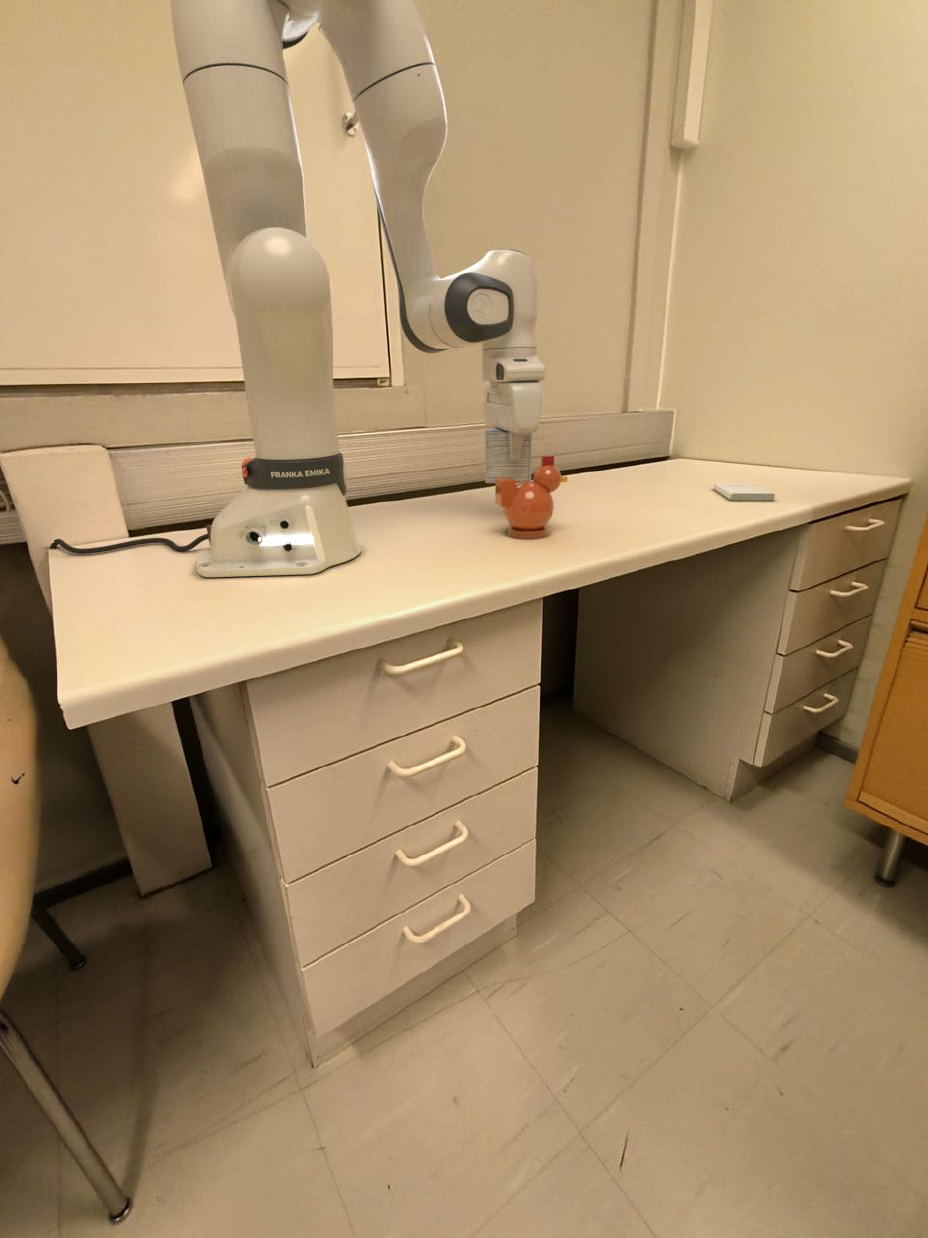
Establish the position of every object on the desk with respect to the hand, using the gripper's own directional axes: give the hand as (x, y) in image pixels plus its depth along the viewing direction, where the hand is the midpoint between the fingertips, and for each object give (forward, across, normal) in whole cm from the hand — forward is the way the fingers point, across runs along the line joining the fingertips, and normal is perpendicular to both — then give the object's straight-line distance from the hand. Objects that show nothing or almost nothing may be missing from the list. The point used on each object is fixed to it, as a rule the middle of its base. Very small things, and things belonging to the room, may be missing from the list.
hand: (508, 457), depth 97 cm
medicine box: (+4, 0, 0) cm, 4 cm away
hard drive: (+11, -5, +52) cm, 53 cm away
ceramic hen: (+11, +11, 0) cm, 15 cm away
